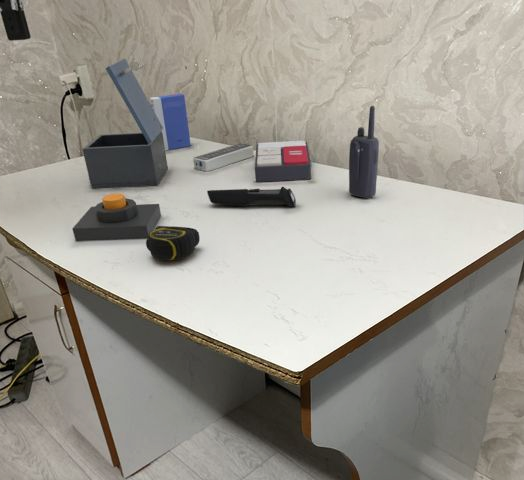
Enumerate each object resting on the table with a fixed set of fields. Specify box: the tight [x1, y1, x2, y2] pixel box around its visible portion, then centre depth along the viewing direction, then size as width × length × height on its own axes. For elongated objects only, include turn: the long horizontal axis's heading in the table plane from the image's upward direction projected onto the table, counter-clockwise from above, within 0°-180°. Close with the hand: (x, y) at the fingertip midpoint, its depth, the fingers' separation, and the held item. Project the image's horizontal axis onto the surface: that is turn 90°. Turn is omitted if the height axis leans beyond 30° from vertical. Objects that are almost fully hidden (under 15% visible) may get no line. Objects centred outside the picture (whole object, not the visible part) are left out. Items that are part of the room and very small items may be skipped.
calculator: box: [254, 140, 312, 183], centre depth 111 cm, size 11×4×15 cm
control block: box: [72, 197, 162, 242], centre depth 89 cm, size 12×10×4 cm
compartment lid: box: [105, 57, 163, 144], centre depth 104 cm, size 14×12×5 cm
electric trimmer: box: [206, 186, 297, 208], centre depth 94 cm, size 4×16×3 cm, turn 83°
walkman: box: [149, 92, 192, 152], centre depth 129 cm, size 8×3×12 cm, turn 116°
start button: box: [101, 192, 127, 210], centre depth 87 cm, size 4×4×2 cm
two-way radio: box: [348, 105, 380, 199], centre depth 92 cm, size 6×4×15 cm
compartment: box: [81, 132, 169, 189], centre depth 111 cm, size 14×12×8 cm
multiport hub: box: [192, 142, 254, 173], centre depth 118 cm, size 4×14×2 cm, turn 136°
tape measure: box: [145, 225, 200, 261], centre depth 78 cm, size 7×7×4 cm
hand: (19, 39), depth 88 cm, fingers closed
